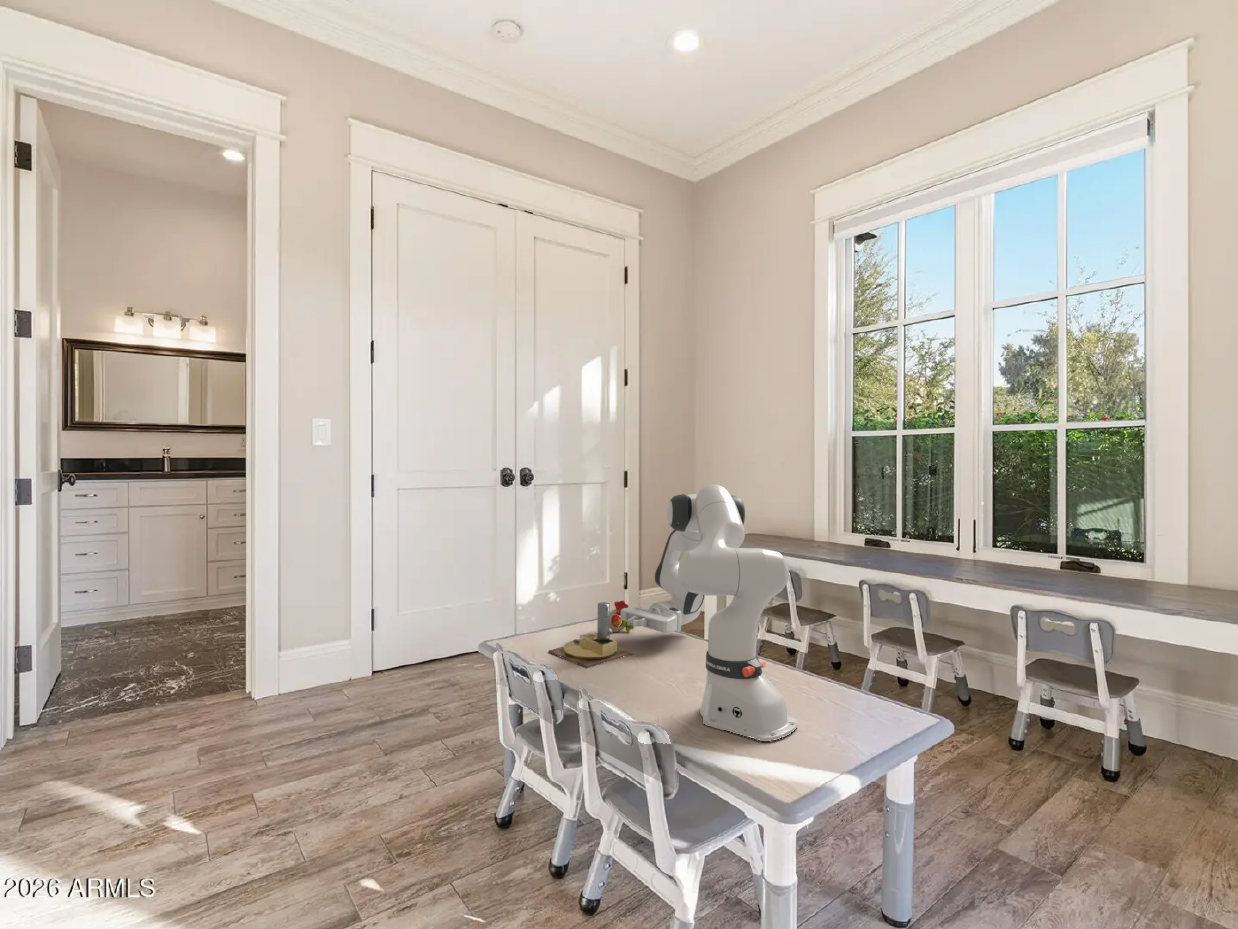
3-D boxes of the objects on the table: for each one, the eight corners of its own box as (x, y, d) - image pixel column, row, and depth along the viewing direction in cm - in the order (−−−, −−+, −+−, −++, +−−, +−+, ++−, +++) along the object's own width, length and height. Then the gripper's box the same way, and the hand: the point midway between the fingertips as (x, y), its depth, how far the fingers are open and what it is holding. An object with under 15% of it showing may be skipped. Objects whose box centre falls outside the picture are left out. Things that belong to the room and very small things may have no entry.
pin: (611, 651, 185) (612, 604, 185) (602, 653, 183) (603, 605, 182) (603, 648, 188) (604, 601, 187) (594, 650, 185) (595, 603, 185)
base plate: (632, 654, 189) (632, 651, 189) (586, 667, 177) (586, 665, 177) (593, 640, 202) (593, 638, 202) (548, 652, 190) (548, 649, 190)
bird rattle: (619, 641, 209) (640, 627, 213) (607, 612, 207) (629, 599, 211) (609, 636, 215) (630, 623, 219) (598, 608, 212) (620, 595, 216)
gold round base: (629, 652, 188) (629, 637, 188) (588, 664, 177) (589, 648, 177) (592, 639, 201) (593, 626, 201) (552, 650, 190) (553, 635, 190)
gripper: (638, 600, 210) (607, 606, 200) (684, 612, 195) (654, 619, 185) (638, 619, 210) (607, 626, 200) (684, 632, 195) (654, 641, 185)
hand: (630, 623), depth 193 cm, fingers closed
